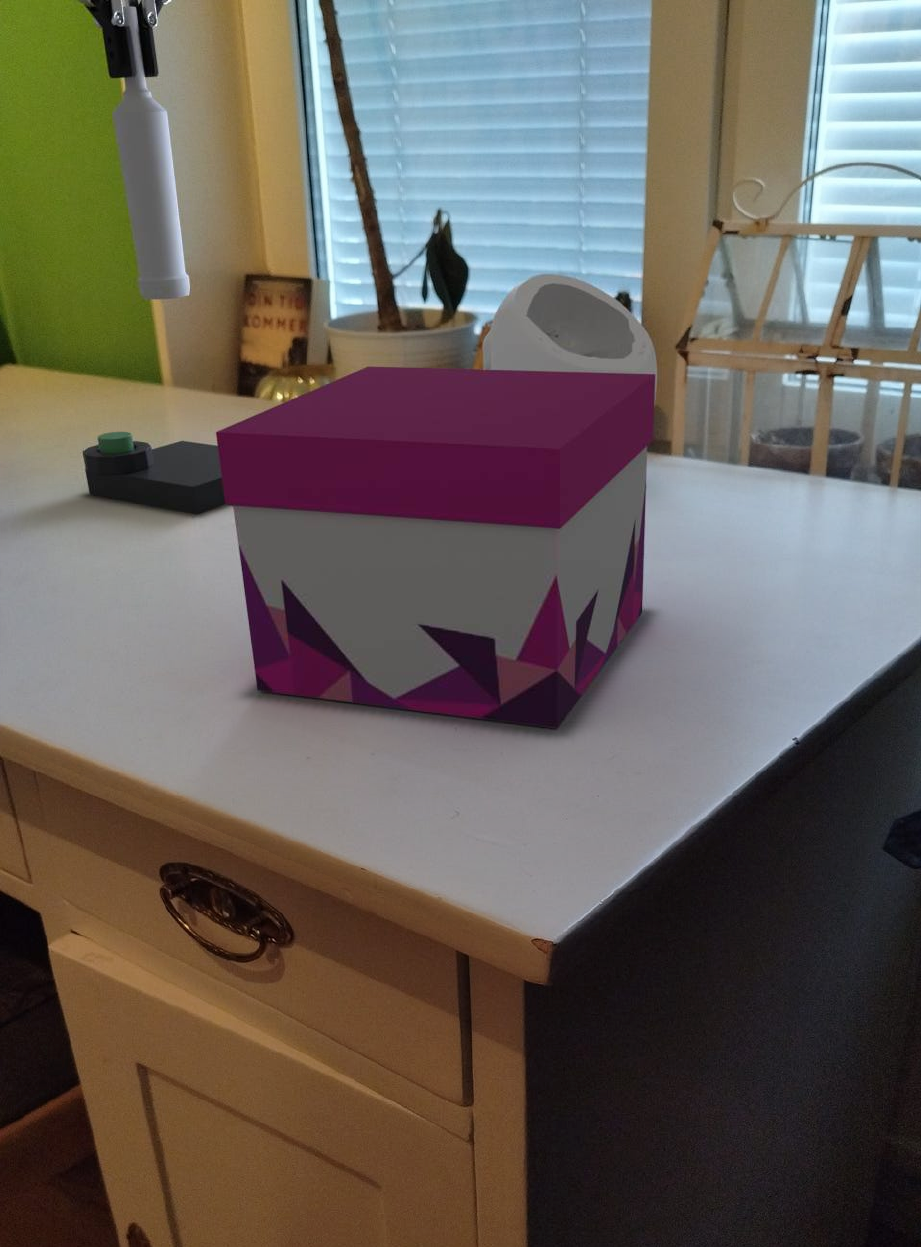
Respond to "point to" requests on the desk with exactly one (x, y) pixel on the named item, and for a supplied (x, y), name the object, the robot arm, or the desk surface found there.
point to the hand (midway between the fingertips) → (134, 75)
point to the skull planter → (563, 305)
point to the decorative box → (443, 536)
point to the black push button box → (159, 476)
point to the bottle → (149, 183)
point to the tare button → (115, 442)
